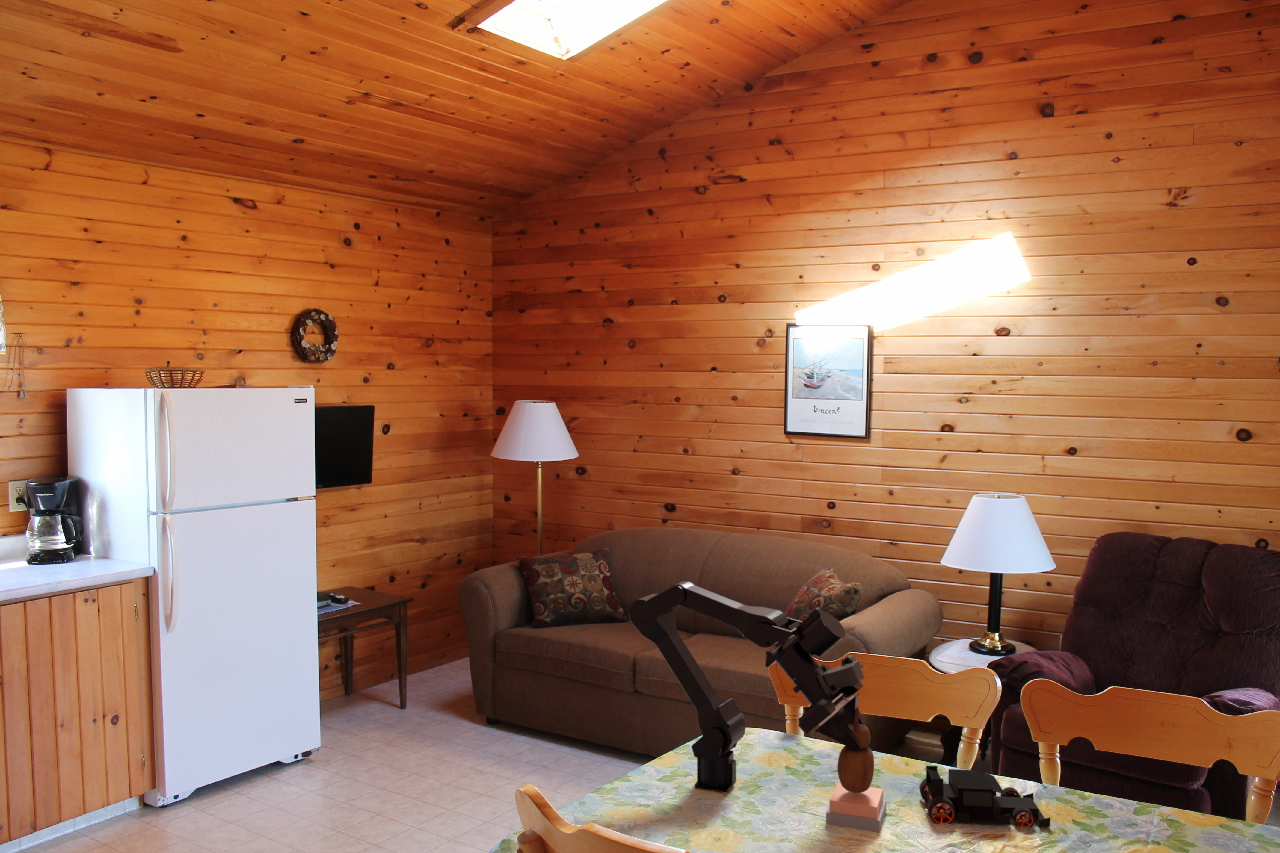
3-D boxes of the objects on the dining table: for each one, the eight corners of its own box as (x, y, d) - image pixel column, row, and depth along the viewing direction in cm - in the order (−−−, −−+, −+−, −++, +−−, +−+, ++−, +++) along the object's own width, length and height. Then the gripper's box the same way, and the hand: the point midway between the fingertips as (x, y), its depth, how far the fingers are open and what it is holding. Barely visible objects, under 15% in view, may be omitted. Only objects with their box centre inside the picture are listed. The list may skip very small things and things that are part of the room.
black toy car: (1050, 831, 163) (1050, 788, 163) (928, 825, 165) (929, 783, 165) (1032, 805, 173) (1033, 765, 173) (918, 799, 176) (918, 760, 175)
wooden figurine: (865, 799, 163) (867, 712, 163) (833, 792, 166) (834, 706, 166) (877, 785, 169) (879, 701, 168) (846, 778, 172) (847, 695, 171)
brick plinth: (826, 823, 165) (826, 800, 165) (835, 802, 174) (835, 780, 173) (879, 832, 162) (879, 809, 162) (886, 810, 170) (886, 788, 170)
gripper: (817, 657, 161) (881, 735, 155) (853, 632, 177) (912, 702, 171) (772, 695, 165) (833, 772, 160) (811, 668, 181) (868, 737, 176)
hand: (864, 744), depth 167 cm, fingers closed on wooden figurine, 5 cm apart
